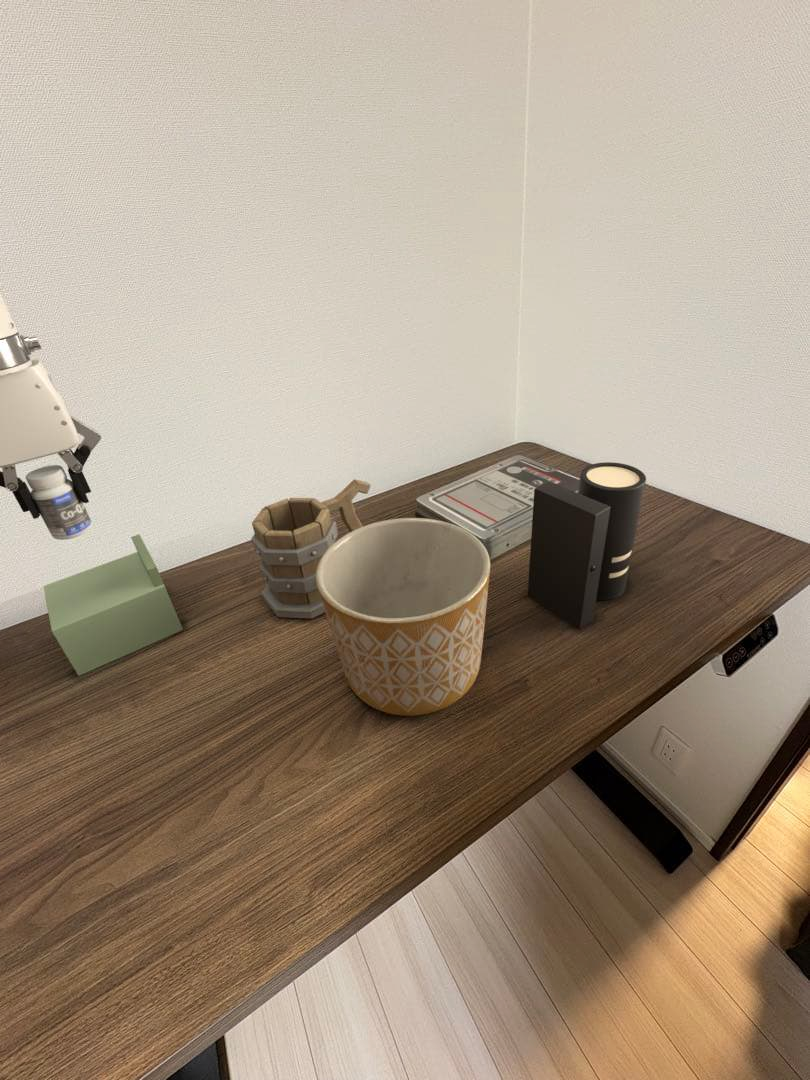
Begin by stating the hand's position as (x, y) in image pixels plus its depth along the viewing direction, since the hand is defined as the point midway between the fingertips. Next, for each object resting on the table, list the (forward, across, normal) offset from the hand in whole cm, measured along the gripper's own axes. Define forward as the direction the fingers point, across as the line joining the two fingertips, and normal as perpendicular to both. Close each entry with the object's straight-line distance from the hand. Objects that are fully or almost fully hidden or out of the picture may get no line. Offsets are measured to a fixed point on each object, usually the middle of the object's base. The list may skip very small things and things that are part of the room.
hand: (60, 505), depth 66 cm
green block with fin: (+22, 0, -1) cm, 22 cm away
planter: (+22, -29, +32) cm, 49 cm away
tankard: (+22, -29, +9) cm, 38 cm away
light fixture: (+22, -57, +36) cm, 71 cm away
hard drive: (+22, -64, +12) cm, 69 cm away
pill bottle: (+4, 0, 0) cm, 4 cm away
